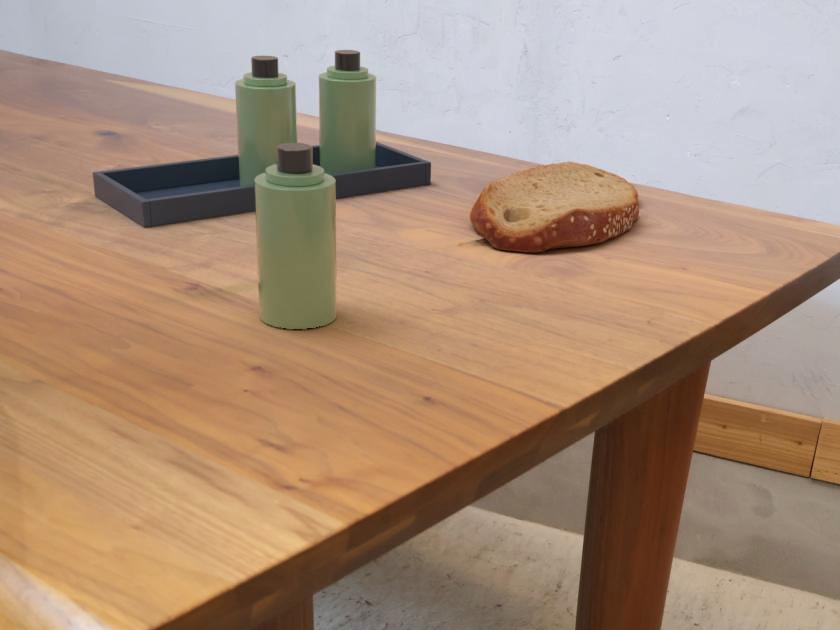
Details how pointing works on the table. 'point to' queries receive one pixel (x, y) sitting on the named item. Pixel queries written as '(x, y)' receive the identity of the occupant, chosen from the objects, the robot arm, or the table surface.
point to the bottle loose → (296, 240)
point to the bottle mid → (263, 116)
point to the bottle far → (347, 115)
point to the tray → (233, 186)
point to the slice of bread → (555, 208)
